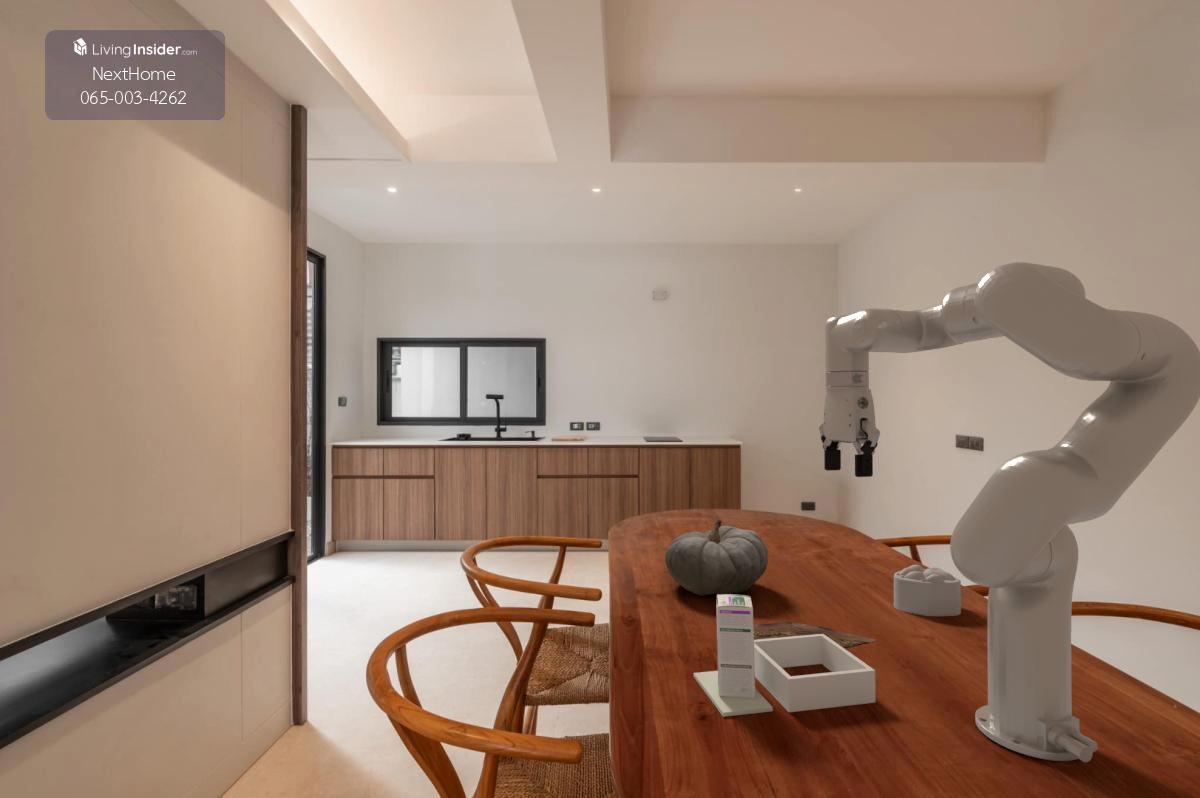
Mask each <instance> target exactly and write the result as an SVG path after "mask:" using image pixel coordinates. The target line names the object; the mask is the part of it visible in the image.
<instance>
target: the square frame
mask: <svg viewBox="0 0 1200 798" xmlns="http://www.w3.org/2000/svg"><path fill="white" fill-rule="evenodd" d="M754 658H755V680H757V681H758V682H759V683H760V684H761V685H762V686H763V687H764V688H765V689H766V691H768V692H769V693H770V694H771V696H772V697H774V698H775V700H776V701H777V702H778V703H779V704H780V705H781V706H782V707H783V708H784V709H785V710H786V711H787V712H788V713H795V712H804V711H812V710H819V709H820V710H822V709H830V708H831V709H832V708H839V707H840V708H841V707H846V706H856V705H865V704H874V703H876V670H875V669H874V668H872V667H871V666H869V665H868V664H867V663H865V662H864V661H863V660H862V659H860V658H858V657H857V656H856V655H854V654H853V653H851V652H850V651H849V650H847V649H846V648H843V647H841V646H840V645H838V644H837V643H836V642H834V641H833V640H831V639H830V638H828V637H827V636H826V635H824V634H815V635H803V636H792V637H781V638H770V639H758V640H756V639H754ZM813 665H822V666H824V667H825V668H826V669H827V670H828V671H829V672H821V673H811V674H803V675H800V674H799V675H792V676H791V675H790V674H789V672H787V671H786V670H785V669H784V668H793V667H803V666H805V667H806V666H813Z"/></svg>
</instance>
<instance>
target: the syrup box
mask: <svg viewBox="0 0 1200 798" xmlns="http://www.w3.org/2000/svg"><path fill="white" fill-rule="evenodd" d="M715 607H716V650H717V671H718V687H719V696H723V697H731V698H745V699H755V688H756V678H755V658H754V640H755V639H754V629H753V625H754V608H753V607H754V606H753V603H752V598H751V596H750V595H745V594H737V593H735V594H733V593H729V594H716V606H715Z"/></svg>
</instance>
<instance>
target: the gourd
mask: <svg viewBox="0 0 1200 798" xmlns="http://www.w3.org/2000/svg"><path fill="white" fill-rule="evenodd" d="M722 522H723V521H722V520H719V519H717V520H716V522H715V525H714V527H713V529H711V530H708V531H707V532H705V533H703V532H700V531H689V532H686V533H683V534H681V535H679V536H677V537H676V538H674V539H673V540H672V541H671V542H670V544H669V547H668V548H667V549H666V551H665V556H664V557H665V565H666V569H667V572H668V573H669V575H670V576H671V578H672V579H673V580H674V581H675V582H676V583H677V584H678V585H679V586H680V587H682V588H684V589H685V590H687V591H688V592H691V593H692V594H695V595H698V596H709V595H711V596H712V595H723V594H733V593H735V594H737V593H738V594H739V593H743V592H746V591H747V590H749V589H750V588H751V587H752V586H754V585H755V584H756V582H757V581H758V580H759V579H760V578H761V577H762V576H763V575H764V574H765V572H766V569H767V567H768V563H769V559H768V558H769V555H768V554H769V550H768V545H767V544H766V542H765V541H764V540H763V538H762V537H761V536H760V535H759V534H758V533H757V532H755V531H753V530H751V529H742V528H738V527H736V526H730V525H722Z"/></svg>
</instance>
